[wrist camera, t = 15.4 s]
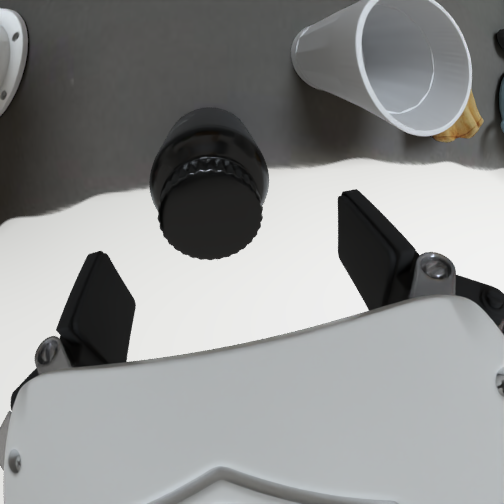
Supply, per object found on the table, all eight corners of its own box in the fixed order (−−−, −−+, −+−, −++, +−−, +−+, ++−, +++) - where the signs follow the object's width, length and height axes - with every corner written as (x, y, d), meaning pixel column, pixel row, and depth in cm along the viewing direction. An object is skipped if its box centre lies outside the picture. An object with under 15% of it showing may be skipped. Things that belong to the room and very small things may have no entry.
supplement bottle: (168, 105, 19) (132, 140, 9) (254, 110, 20) (302, 149, 11) (166, 183, 23) (142, 275, 13) (243, 185, 24) (273, 276, 15)
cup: (262, 69, 18) (322, 69, 9) (310, -1, 14) (398, -40, 5) (340, 116, 21) (432, 164, 12) (381, 52, 18) (486, 66, 8)
